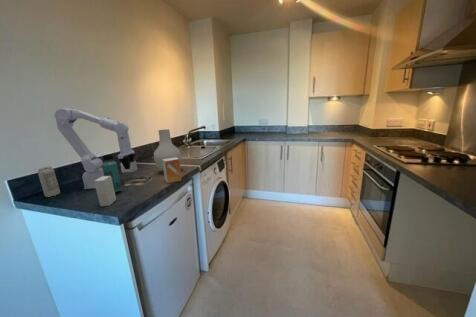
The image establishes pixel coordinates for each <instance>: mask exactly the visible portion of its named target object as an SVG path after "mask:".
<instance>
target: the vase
mask: <svg viewBox="0 0 476 317" xmlns="http://www.w3.org/2000/svg"><path fill="white" fill-rule="evenodd" d="M157 132H158V136H159V145H158V146H157V148H156V149H155V150H154V152H153V160H154V162H155V164H156V167H157V168H159V169H160V170H162V171H164V169H163V162H162V159H168V158H174V157H177V158H178V159H179V161H180V162H181V151H180V149H179V148H178V147H177V146H176V145H174V144H173V141H172V138H171V132H170V129H158V131H157Z"/></svg>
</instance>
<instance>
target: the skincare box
mask: <svg viewBox="0 0 476 317" xmlns="http://www.w3.org/2000/svg"><path fill="white" fill-rule="evenodd" d="M94 183H95V187H96V188H95V191H96V194H97V199H98V203H99V206H100V207H106V206H109V207H110V206H111V205H112V204H114V202H115V201H117V197H116V192H115V191H114V187H113V183H112V178H111V176H102V177H100V178H98V179H97V180H95V181H94Z"/></svg>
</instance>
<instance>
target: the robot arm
mask: <svg viewBox="0 0 476 317" xmlns="http://www.w3.org/2000/svg"><path fill="white" fill-rule="evenodd" d="M53 116H54V118H55V120H56V126H57V130H58V131H59V132H60V133H61V135H62V136H63V137H64V138H65V140H66V142H68V143H69V145H70V146H71V147H72V149H73V150H74V151H75V153H77V155H78V156H79V158H80V163H81V164H82V166H83V169H84V170H85V172H83V173H82V181H83V185H84V187H83V189H84V190H88V189H89V190H91V189H96V187H95V183H94V181H95V180H97V179H98V178H100V177H102V176H104V172H103V167H102V164H103V163H104V162H103V160H102V159H101V158H99V157H98V156H97V155H96V154H94V153H92V152H91V150H90V149H89V148H88V146H87V145H86V144H85V143H84V142H83V140H82V139H81V137H80V136H79V135H78V133H77V132H76V131H75V130H74V128H73V126H74V123H75V122H76V121H77V120H81V119H82V120H84V121H85V120H86V121H89V122H90V123H91V122H92V123H95V124H98V125H99V126H100V127H101V128H102V129H105V130H107V131H108V130H109V131H111V132H114V133H116V135H117V142H118V147H119V152H120V153H119V154H118V155H117V158H118V161H119V162H120V163H122V164H123V166H124V168H125V169H129V161H135V157H136V154H135V149H132V143H131V139H130V136H129V129H130V128H129V126H128V124H126V123H125V122H120V121H119V120H114V119H112V118H111V117H105V116H104V117H102V118H101V117H100V116H96V115H93V114H92V113H88V112H86V111H84V110H82V109H81V110H80V109H75V108H73V107H59V108H57V109H56V110H55V113H54V115H53Z"/></svg>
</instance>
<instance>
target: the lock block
mask: <svg viewBox="0 0 476 317" xmlns="http://www.w3.org/2000/svg"><path fill="white" fill-rule="evenodd" d="M119 165H120V170H121V173H135V172H136V171H138V165H137V161H136V160H134V161H129V169H125V168H124V166H123V164H122V163H121V162H119Z"/></svg>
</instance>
